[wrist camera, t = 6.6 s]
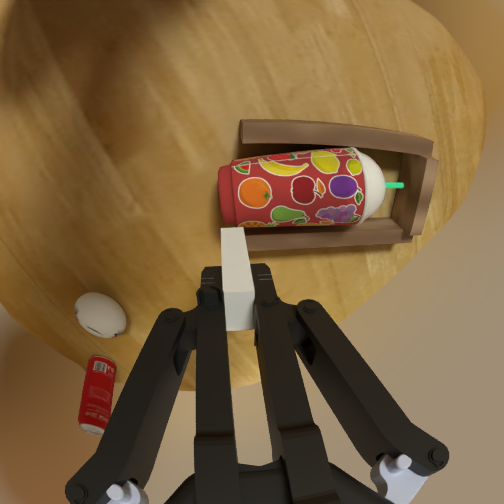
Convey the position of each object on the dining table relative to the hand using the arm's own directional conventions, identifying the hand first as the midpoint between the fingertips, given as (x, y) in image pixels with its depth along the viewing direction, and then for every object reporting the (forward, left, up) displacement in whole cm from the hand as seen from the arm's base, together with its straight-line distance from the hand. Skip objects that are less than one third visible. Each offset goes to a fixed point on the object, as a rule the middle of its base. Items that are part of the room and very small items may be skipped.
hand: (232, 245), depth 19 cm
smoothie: (0, -1, -10) cm, 10 cm away
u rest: (0, +13, -14) cm, 19 cm away
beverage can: (+33, -26, -14) cm, 44 cm away
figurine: (+16, -19, -14) cm, 28 cm away
